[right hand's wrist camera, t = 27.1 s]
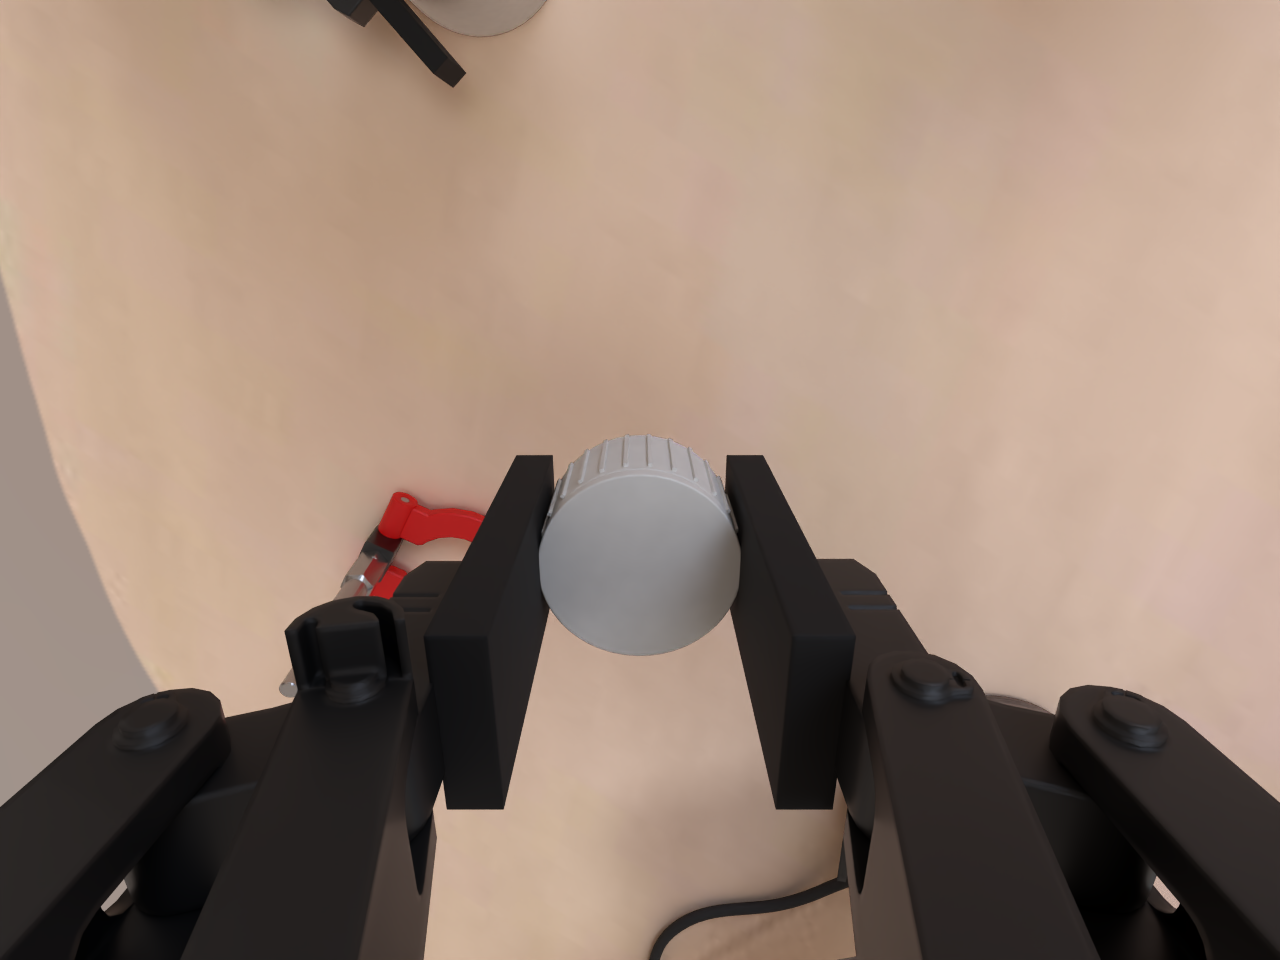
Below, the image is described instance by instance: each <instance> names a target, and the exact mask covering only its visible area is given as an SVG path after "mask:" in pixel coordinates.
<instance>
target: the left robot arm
mask: <svg viewBox="0 0 1280 960" xmlns="http://www.w3.org/2000/svg"><path fill="white" fill-rule="evenodd" d="M327 1H328V2H329V3H330V4H331V5H332V7H333V8H334V9H336V10H337V11H339V12H340V13H341V14H343V15H344V16H346V17H347V18H349V19H350V20H352V21H354V22H356V23H357V24H359V25H361V26H363V27H365V25H366V24H367V23H368V22H369V21H370V19H371V18H372V17H373V16H374V15H375V13H376V12H377V11H379V12H380V13H381V14H382V15H383V17H384V18H385V19H386V20H387V21H388V22H389V23H390V25H391V26H392V27H393V28H394V29H395V30H396V31H397V33H398V34H399V35H400V36H401V37H402V38H403V39H404V41H405V42H406V43H407V44H408V45H409V46H410V47H411V49H412V50H413V51H414V52H415V53H416V54H417V55H418V57H419V58H420V59H421V60H422V61H423V62H424V63H425V65H426V66H427V67H428V68H429V69H430V70H431V71H432V73H433V74H435V75H436V76H437V77H439V78H440V79H442V80H443V81H444V82H446V83H447V84H449V85H450V86H451V87H454V86H455V85H456V84H457V83H458V82H459V81H460V80H461V78H462V77H463V76H464V75H465V74H466V72H465V71H464V70H463V69H462V68H461V66H460V65H459V64H458V63H457V62H456V61H455V59H454V58H453V57H452V56H451V55H450V54H449V52H448V51H447V50H446V49H445V48H444V47H443V45H442V44H441V43H440V42H439V41H438V40H437V38H436V37H435V36H434V35H433V34H432V33H431V32H430V30H429V29H428V28H427V27H426V26H425V25H424V23H423V22H422V21H421V20H420V19H419V18H418V16H417V15H416V14H415V13H414V12H413V11H412V9H411V8H410V7H409V6H408V5H407V4H406V2H405V1H404V0H327Z"/></svg>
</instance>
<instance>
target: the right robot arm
mask: <svg viewBox="0 0 1280 960" xmlns="http://www.w3.org/2000/svg"><path fill="white" fill-rule="evenodd" d="M553 494H554V472H553V455H516V457H515V459H514V461H513V463H512V465H511V467H510V469H509V471H508V473H507V475H506V477H505V479H504V481H503V482H502V484H501V486H500V488H499V490H498V492H497V494H496V496H495V498H494V500H493V502H492V504H491V506H490V508H489V510H488V512H487V514H486V515H485V517H484V519H483V521H482V523H481V525H480V527H479V529H478V531H477V533H476V535H475V537H474V539H473V541H472V543H471V545H470V547H469V548H468V550H467V552H466V554H465V556H464V558H463V560H462V561H426V562H424V563H423V564H421V565H420V566H418V567H417V568H416V569H414V570H413V571H411V572H410V573H408V574H407V575H405V576H404V577H403V579H402V580H401V582H400V584H399V585H398V587H397V588H396V590H395V591H394V593H393V597H390V599H386V598H383V597H379V596H354V597H349V598H343V599H338V600H333V601H331V602H328V603H325V604H322V605H320V606H317V607H314V608H312V609H310V610H309V611H307V612H306V613H304V614H302V615H301V616H299V617H297V618H296V619H295V620H294V621H293V622H292V623H291V624H290V625H289V627H288V628H287V629H286V630H285V636H286V640H287V645H288V649H289V654H290V658H291V663H292V667H293V672H294V676H295V681H296V685H297V690H298V691H297V693H296V695H295V698H294V700H293V702H292V703H288V704H285V705H281V706H278V707H274V708H269V709H265V710H260V711H255V712H250V713H245V714H241V715H236V716H231V717H226V718H225V716H224V713H223V709H222V706H221V702H220V700H219V699H218V698H217V697H216V696H215V695H214V694H212V693H211V692H210V691H205V690H200V689H195V688H187V689H176V690H168V691H163V692H158V693H157V694H151V695H148V696H145V697H142V698H140V699H138V700H136V701H134V702H132V703H130V704H128V705H125V706H123V707H121V708H119V709H117V710H115V711H114V712H113V713H111V714H110V715H108V716H107V717H105V718H104V719H103V720H101V721H100V722H98V723H97V724H95V725H94V726H93V727H92V728H91V729H90V730H88V731H87V732H86V733H85V734H84V735H83V736H82V737H80V738H79V739H78V740H77V741H76V742H75V743H73V744H72V745H71V746H70V747H69V748H68V749H67V750H65V751H64V752H63V753H62V754H61V755H60V756H59V757H57V758H56V759H55V760H54V761H53V762H52V763H50V764H49V765H48V766H47V767H46V768H45V769H44V770H42V771H41V772H40V773H39V774H38V775H37V776H36V777H34V778H33V779H32V780H31V781H30V782H29V783H28V784H26V785H25V786H24V787H23V788H22V789H21V790H19V791H18V792H17V793H16V794H15V795H14V796H12V797H11V798H10V799H9V800H8V801H7V802H6V803H4V804H3V805H2V806H1V807H0V960H424V951H425V942H426V933H427V923H428V914H429V905H430V896H431V887H432V877H433V868H434V859H435V850H436V840H437V836H436V829H435V822H434V815H433V806H434V803H435V800H436V798H437V795H438V792H439V789H440V786H441V783H442V780H443V784H444V792H445V799H446V806H447V809H504V806H505V801H506V797H507V793H508V788H509V784H510V780H511V775H512V771H513V766H514V762H515V758H516V753H517V749H518V745H519V740H520V736H521V731H522V727H523V723H524V718H525V714H526V710H527V705H528V701H529V697H530V692H531V688H532V683H533V679H534V675H535V670H536V666H537V662H538V657H539V653H540V648H541V644H542V640H543V635H544V631H545V627H546V622H547V618H548V614H549V609H550V607H549V606H548V604H547V602H546V600H545V598H544V595H543V593H542V590H541V583H540V568H539V547H540V543H541V539H542V533H541V532H542V529H543V526H544V523H545V519H546V516H547V513H548V510H549V506H550V503H551V500H552V497H553ZM725 494H728V498H729V501H730V504H731V507H732V510H733V514H734V517H735V520H736V523H737V526H738V533H737V537H738V540H739V544H740V547H741V559H740V576H739V589H738V592H737V595H736V597H735V599H734V601H733V604H732V606H731V607H730V611H731V615H732V620H733V624H734V629H735V633H736V637H737V642H738V646H739V650H740V655H741V659H742V664H743V668H744V672H745V677H746V681H747V685H748V690H749V694H750V699H751V703H752V707H753V712H754V716H755V720H756V725H757V729H758V733H759V738H760V742H761V747H762V751H763V755H764V760H765V764H766V768H767V773H768V777H769V782H770V786H771V790H772V795H773V799H774V803H775V808H776V809H830V810H833V803H834V796H835V788H836V781H837V778H838V781H839V784H840V787H841V790H842V793H843V795H844V798H845V801H846V804H847V807H848V808H847V815H846V822H845V829H844V835H843V842H842V849H841V856H840V863H839V870H838V877H837V878H835V879H832V880H830V881H828V882H825V883H823V884H821V885H818V886H816V887H814V888H811V889H809V890H806V891H803V892H800V893H797V894H794V895H791V896H787V897H783V898H778V899H773V900H766V901H757V902H745V903H732V904H722V905H716V906H710V907H706V908H702V909H699V910H696V911H693V912H691V913H689V914H686V915H684V916H683V917H681V918H679V919H678V920H676V921H675V922H673V923H672V924H671V925H670V926H668V927H667V928H666V929H665V930H664V931H663V933H662V934H661V935H660V937H659V938H658V940H657V941H656V943H655V945H654V947H653V950H652V952H651V955H650V959H649V960H660V957H661V955H662V952H663V950H664V948H665V946H666V945H667V944H668V942H669V941H670V940H671V939H672V938H673V937H674V936H676V935H677V934H678V933H680V932H681V931H682V930H684V929H686V928H687V927H689V926H691V925H694V924H696V923H698V922H701V921H705V920H708V919H713V918H718V917H725V916H735V915H748V914H760V913H769V912H776V911H781V910H786V909H790V908H794V907H798V906H801V905H804V904H807V903H810V902H812V901H815V900H818V899H820V898H822V897H825V896H827V895H830V894H832V893H834V892H837V891H839V890H842V889H845V888H847V887H849V894H850V903H851V913H852V922H853V931H854V940H855V949H856V957H851V958H845V959H839V960H1280V802H1278V801H1277V800H1276V799H1275V798H1274V797H1273V796H1271V795H1270V794H1269V793H1268V792H1267V791H1266V790H1264V789H1263V788H1262V787H1261V786H1260V785H1259V784H1257V783H1256V782H1255V781H1254V780H1253V779H1252V778H1250V777H1249V776H1248V775H1247V774H1246V773H1245V772H1244V771H1242V770H1241V769H1240V768H1239V767H1238V766H1237V765H1235V764H1234V763H1233V762H1232V761H1231V760H1230V759H1228V758H1227V757H1226V756H1225V755H1224V754H1223V753H1221V752H1220V751H1219V750H1218V749H1217V748H1216V747H1215V746H1213V745H1212V744H1211V743H1210V742H1209V741H1208V740H1206V739H1205V738H1204V737H1203V736H1202V735H1201V734H1199V733H1198V732H1197V731H1196V730H1195V729H1194V728H1192V727H1191V726H1190V725H1189V724H1188V723H1187V722H1186V721H1184V720H1183V719H1181V718H1180V717H1178V716H1177V715H1175V714H1174V713H1173V712H1171V711H1170V710H1168V709H1167V708H1165V707H1164V706H1162V705H1160V704H1158V703H1155V702H1153V701H1151V700H1149V699H1147V698H1145V697H1143V696H1141V695H1139V694H1136V693H1133V692H1130V691H1127V690H1126V691H1124V690H1123V689H1118V688H1113V687H1106V686H1094V685H1085V686H1080V687H1075V688H1070V689H1069V690H1068V691H1067V692H1065V693H1064V694H1063V695H1062V696H1061V697H1060V700H1059V703H1058V707H1057V711H1056V714H1055V715H1054V714H1051V713H1049V712H1048V711H1046V710H1044V709H1042V708H1040V707H1038V706H1036V705H1034V704H1031V703H1029V702H1025V701H1022V700H1018V699H1014V698H1009V697H1001V696H985V694H984V692H983V690H982V688H981V687H980V686H979V684H978V683H977V681H976V680H975V679H974V677H973V676H972V675H970V674H969V673H968V672H966V671H965V670H963V669H962V668H961V667H959V666H958V665H956V664H955V663H952V662H950V661H947V660H945V659H943V658H940V657H938V656H936V655H931V654H928V653H927V651H926V650H925V648H924V647H923V645H922V644H921V642H920V641H919V639H918V638H917V636H916V635H915V633H914V632H913V630H912V629H911V627H910V625H909V624H908V622H907V621H906V619H905V618H904V616H903V615H902V613H901V612H900V610H897V606H896V604H895V603H894V601H893V600H892V598H891V597H890V595H887V591H886V589H885V588H884V586H883V585H882V583H881V581H880V580H879V578H878V577H877V575H876V574H875V573H873V572H872V571H870V570H869V569H868V568H866V567H865V566H863V565H862V564H860V563H859V562H857V561H856V560H854V559H816V557H815V555H814V553H813V551H812V549H811V547H810V546H809V544H808V542H807V540H806V538H805V536H804V534H803V532H802V530H801V528H800V526H799V524H798V522H797V520H796V518H795V516H794V514H793V513H792V511H791V509H790V507H789V505H788V503H787V501H786V499H785V497H784V495H783V493H782V491H781V489H780V487H779V485H778V483H777V481H776V479H775V478H774V476H773V474H772V472H771V470H770V468H769V466H768V464H767V462H766V460H765V458H764V456H763V455H727V462H726V483H725ZM1156 876H1158V877H1159V879H1160V880H1161V881H1162V882H1163V883H1164V885H1165V886H1166V887H1167V888H1168V889H1169V890H1170V892H1171V893H1172V894H1173V895H1174V896H1175V898H1176V899H1177V900H1178V901H1179V902H1180V905H1179V907H1178V908H1177V909H1176V908H1174V907H1173V906H1172V905H1171V904H1170V903H1168V902H1167V901H1166V900H1165V899H1164V898H1163V896H1162V895H1161V894H1160V893H1159V892H1158V890H1157V889H1156V888H1155V887H1154V886H1153V884H1154V881H1155V878H1156ZM123 879H124V880H125V883H126V885H127V889H126V890H125V891H124V893H123V894H122V895H121V896H120V897H119V899H118V900H117V901H116V902H115V903H114V904H113V905H111V906H110V907H109V908H108V909H107V910H106V911H105V912H104V911H103V910H102V909H101V906H102V904H103V903H104V902H105V901H106V900H107V898H108V897H109V896H110V895H111V894H112V893H113V891H114V890H115V889H116V888H117V887H118V885H119V884H120V883H121V882H122V881H123Z"/></svg>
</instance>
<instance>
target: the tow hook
mask: <svg viewBox="0 0 1280 960" xmlns="http://www.w3.org/2000/svg"><path fill="white" fill-rule="evenodd" d="M484 517H485V516H483V515H480V514H478V513H476V512H473V511H467V510H461V509H455V508H449V509H435V510H429V509H427V508H425V507H422V506H420V505H418V503H417V500H416V499H415V498H414V497H412V496H411V495H409V494H406V493H403V492H396V493H394V494H393V496H392V498H391V500H390V502H389V504H388V507H387V509H386V511H385V513H384V515H383V517H382V520H381V522H380V524H379V525H378V526H377V527H376V528H375V529H374V531H373V532H372V534H371V535H370V536H369V538H368V539H367V541H366V542H365V544H364V546H363V548H362V550H361V552H360V555H359V557H358V559H357V560H356V561H355V563H354V564H353V566H352V567H351V568H350V570H349V571H348V573H347V574H346V576H345V578H344V580H343V582H342V584H341V589H340V591H339V592H338V594H337V595H336V597H335V598H334V599H333V600H338V599H343V598H349V597H354V596H379V597H383V598H386V599H390V597H393V593H394V591H395V590H396V588H397V587H398V585H399V584H400V582H401V580H402V579H403V577H404V576H405V575H407V573H406V572H405V571H404V570H401V569H399V568H397V567H394V566H392V565H391V564H392V562H393V560H394V558H395V556H396V553H397V551H398V549H399V547H400V545H401V543H402V541H403V539H405V540H407V541H409V542H411V543H414V544H416V545H423V544H425V543H426V542H428V541H431V540H434V539H437V538H446V537H454V538H460V539H465V540H468V541H470V542H472V541H473V539H474V537H475V535H476V533H477V531H478V529H479V527H480V525H481V523H482V521H483V519H484ZM279 690H280V692H281V694H283V695H284V696H286V697H295V695H296V693H297V691H298V690H297V685H296V681H295V676H294V672H293V667H292V669H291V670H290V672H289V673H288V675H287V676H286V678H285V679H284V681H283V682H282V683H281V685H280V687H279Z"/></svg>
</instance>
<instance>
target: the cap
mask: <svg viewBox="0 0 1280 960" xmlns="http://www.w3.org/2000/svg"><path fill="white" fill-rule="evenodd" d="M541 533H542V539H541V543H540V547H539V568H540V583H541V590H542V593H543V595H544V598H545V600H546V602H547V604H548V606H549V607H550V609H551V611H552V612H553V614H554V615H555V616H556V617H557V619H558V620H559V621H560V622H561V623H562V624H563V625H564V626H565V627H566V628H567V629H568V630H569V631H570V632H572V633H573V634H574V635H576V636H577V637H578V638H580V639H582V640H583V641H585V642H587V643H588V644H590V645H593V646H595V647H597V648H600V649H602V650H606V651H609V652H612V653H617V654H623V655H633V656H648V655H657V654H663V653H667V652H671V651H675V650H677V649H680V648H682V647H685V646H687V645H689V644H691V643H693V642H695V641H697V640H698V639H700V638H701V637H703V636H704V635H706V634H707V633H708V632H709V631H711V630H712V629H713V628H714V627H715V626H716V625H717V624H718V623H719V622H720V621H721V620H722V618H723V617H724V616H725V615H726V613H727V612H728V610H729V609H730V607H731V606H732V604H733V601H734V599H735V597H736V595H737V592H738V589H739V576H740V559H741V547H740V544H739V540H738V537H737V533H738V526H737V523H736V520H735V517H734V514H733V510H732V507H731V504H730V501H729V498H728V494H725V491H724V487H723V484H722V481H721V478H720V476H717V477H716V475H715V473H714V472H713V470H712V469H711V468H710V466H709V462H708V461H707V460H705V461H704V460H703V459H701V458H700V457H699V456H698V455H697V454H696V453H694V452H693V450H692V448H690V447H688V448H686V447H684V446H682V445H681V444H679V443H676V442H674V441H673V439H670V438H669V439H664V438H660V437H655V436H651V434H647V436H645V435H636V436H629V435H625V437H619V438H616V439H612V440H609V441H608V440H604V442H603V443H601V444H599V445H597V446H595V447H593V448H592V449H590V450H588V449H587V450H585V451H584V454H583V455H582V456H581V457H579V458H578V459H577V460H576V461H575V462H574V463H572V462H571V463H570V464H569V466H568V470H567V472H566V473H565V474H564V476H563V478H562V479H558V481H557V484H556V487H555V491H554V494H553V497H552V500H551V503H550V506H549V510H548V513H547V516H546V519H545V523H544V526H543V529H542V532H541Z"/></svg>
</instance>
